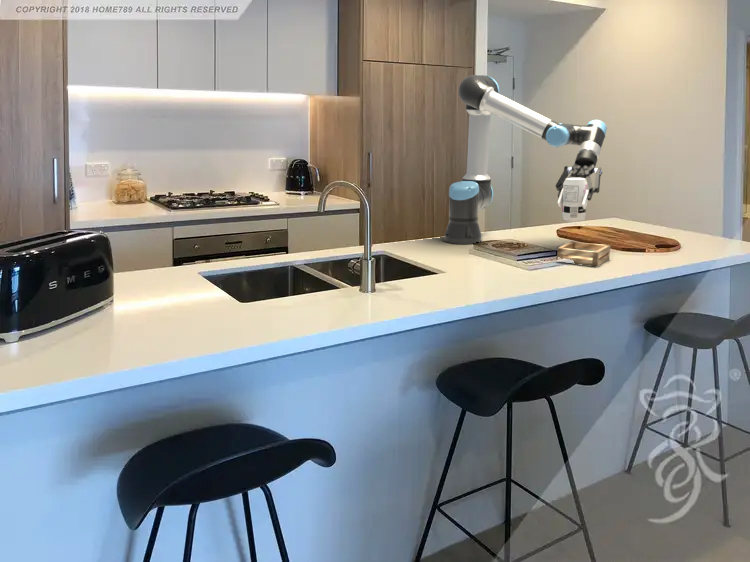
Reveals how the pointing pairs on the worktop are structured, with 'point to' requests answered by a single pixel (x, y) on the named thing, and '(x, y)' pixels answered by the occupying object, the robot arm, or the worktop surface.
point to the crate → (585, 253)
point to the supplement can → (574, 199)
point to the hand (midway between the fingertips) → (571, 205)
